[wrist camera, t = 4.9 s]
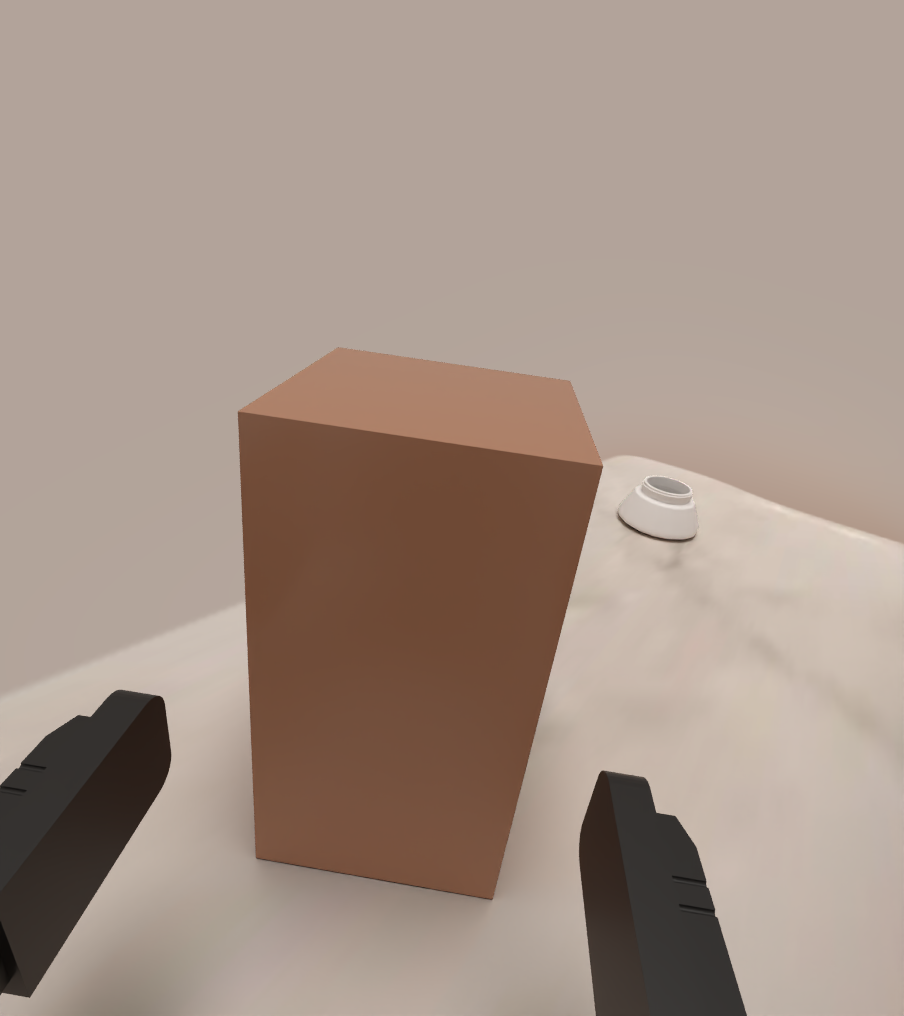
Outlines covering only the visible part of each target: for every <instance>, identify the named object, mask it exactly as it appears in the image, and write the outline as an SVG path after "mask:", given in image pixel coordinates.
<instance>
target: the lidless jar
mask: <svg viewBox="0 0 904 1016" xmlns="http://www.w3.org/2000/svg"><path fill="white" fill-rule="evenodd" d="M692 493H693V490H692V488H691V487H690V486H688V485H687V484H685V483H683V482H681V481H679V480H676V479H673V478H669V477H665V476H656V475H654V476H647V477H645V478H644V480H643V481H642V485H638V486H637V487H636V488H635V489H634V490H633V491H632V492H631V493H630V494H629V495H628V496H627V497H626V498H625V499H624V500H623V501H622V502H621V503H620V504H619V508H618V512H619V516H620V517H621V518H622V519H623V520H624V521H625V522H626V523H627V524H629V525H630V526H632V527H633V528H635V529H637V530H638V531H640V532H642V533H645V534H648V535H650V536H653V537H658V538H663V539H687V538H691V537H694V535H695V534H696V533H697V531H698V528H699V523H698V517H697V511H696V506H695V503H694V500H693V499H692V495H693V494H692Z"/></svg>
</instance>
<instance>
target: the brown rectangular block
mask: <svg viewBox="0 0 904 1016" xmlns="http://www.w3.org/2000/svg"><path fill="white" fill-rule="evenodd" d="M238 424H239V449H240V474H241V497H242V498H241V499H242V522H243V523H242V524H243V547H244V573H245V598H246V622H247V647H248V672H249V696H250V721H251V746H252V770H253V795H254V820H255V845H256V858H260V859H266V860H272V861H277V862H283V863H289V864H295V865H300V866H306V867H312V868H317V869H323V870H329V871H334V872H340V873H346V874H351V875H357V876H363V877H368V878H374V879H380V880H385V881H391V882H397V883H402V884H408V885H414V886H420V887H425V888H431V889H437V890H442V891H448V892H454V893H459V894H465V895H471V896H476V897H482V898H488V899H493V895H494V891H495V887H496V883H497V879H498V876H499V872H500V868H501V864H502V860H503V856H504V852H505V848H506V844H507V840H508V836H509V833H510V829H511V825H512V821H513V817H514V813H515V809H516V805H517V801H518V797H519V793H520V789H521V786H522V782H523V778H524V774H525V770H526V766H527V762H528V758H529V754H530V750H531V746H532V743H533V739H534V735H535V731H536V727H537V723H538V719H539V715H540V711H541V707H542V703H543V699H544V696H545V692H546V688H547V684H548V680H549V676H550V672H551V668H552V664H553V660H554V656H555V653H556V649H557V645H558V641H559V637H560V633H561V629H562V625H563V621H564V617H565V613H566V609H567V606H568V602H569V598H570V594H571V590H572V586H573V582H574V578H575V574H576V570H577V566H578V563H579V559H580V555H581V551H582V547H583V543H584V539H585V535H586V531H587V527H588V523H589V519H590V516H591V512H592V508H593V504H594V500H595V496H596V492H597V488H598V484H599V480H600V476H601V473H602V469H603V464H602V462H601V459H600V457H599V454H598V451H597V449H596V446H595V444H594V441H593V439H592V436H591V434H590V431H589V428H588V426H587V423H586V421H585V418H584V416H583V413H582V411H581V408H580V405H579V403H578V400H577V398H576V395H575V392H574V390H573V387H572V385H571V382H570V381H567V380H560V379H553V378H546V377H539V376H532V375H525V374H519V373H511V372H504V371H498V370H490V369H484V368H477V367H470V366H463V365H456V364H449V363H443V362H436V361H429V360H422V359H415V358H408V357H401V356H394V355H388V354H381V353H373V352H367V351H360V350H353V349H346V348H339V347H338V348H336V349H335V350H333V351H332V352H330V353H328V354H327V355H325V356H324V357H322V358H321V359H319V360H318V361H316V362H314V363H313V364H311V365H310V366H308V367H307V368H305V369H304V370H302V371H300V372H299V373H297V374H296V375H294V376H293V377H291V378H290V379H288V380H286V381H285V382H283V383H282V384H280V385H278V386H277V387H275V388H274V389H272V390H271V391H269V392H267V393H266V394H264V395H263V396H261V397H260V398H258V399H257V400H255V401H253V402H252V403H250V404H249V405H247V406H246V407H244V408H243V409H241V410H240V411H238Z"/></svg>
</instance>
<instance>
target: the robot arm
mask: <svg viewBox="0 0 904 1016" xmlns="http://www.w3.org/2000/svg"><path fill="white" fill-rule="evenodd" d="M170 763H171V748H170V740H169V732H168V725H167V717H166V709H165V703H164V700H163V698H162V697H160V696H156V695H150V694H144V693H138V692H131V691H125V690H117V691H115V692H113V693H112V694H111V695H110V696H109V697H108V698H107V699H106V700H105V701H104V702H103V703H102V705H101V706H100V707H99V708H98V709H97V710H96V711H95V713H94V714H93V715H92V716H91V717H87V716H81V715H78V716H76V717H75V718H73V719H72V720H70V721H69V722H67V723H65V724H64V725H62V726H61V727H59V728H58V729H56V730H55V731H53V732H52V733H50V734H48V735H47V736H46V737H45V738H44V739H43V740H42V741H41V742H40V743H39V744H38V745H37V746H36V747H35V748H34V750H33V751H32V752H31V753H30V754H29V755H28V756H27V757H26V758H25V759H24V760H23V761H22V762H21V766H20V768H19V769H17V768H16V769H15V770H14V771H13V772H12V773H11V774H10V775H9V776H8V778H7V779H6V780H5V781H4V782H3V783H2V784H1V785H0V995H1V993H7V994H13V995H18V996H24V997H29V998H30V997H31V995H32V993H33V992H34V990H35V989H36V987H37V985H38V984H39V982H40V981H41V979H42V978H43V976H44V974H45V973H46V971H47V970H48V968H49V966H50V965H51V963H52V962H53V960H54V958H55V957H56V955H57V954H58V952H59V951H60V949H61V947H62V946H63V944H64V943H65V941H66V939H67V938H68V936H69V935H70V933H71V932H72V930H73V928H74V927H75V925H76V924H77V922H78V920H79V919H80V917H81V916H82V914H83V913H84V911H85V909H86V908H87V906H88V905H89V903H90V901H91V900H92V898H93V897H94V895H95V893H96V892H97V890H98V889H99V887H100V886H101V884H102V882H103V881H104V879H105V878H106V876H107V874H108V873H109V871H110V870H111V868H112V867H113V865H114V863H115V862H116V860H117V859H118V857H119V855H120V854H121V852H122V851H123V849H124V848H125V846H126V844H127V843H128V841H129V840H130V838H131V836H132V835H133V833H134V832H135V830H136V828H137V827H138V825H139V824H140V822H141V821H142V819H143V817H144V816H145V814H146V813H147V811H148V809H149V808H150V806H151V805H152V803H153V802H154V800H155V798H156V797H157V795H158V794H159V792H160V790H161V789H162V787H163V785H164V782H165V780H166V777H167V775H168V771H169V768H170ZM579 861H580V871H581V881H582V890H583V899H584V909H585V918H586V927H587V936H588V946H589V955H590V964H591V974H592V983H593V992H594V1001H595V1011H596V1016H747V1014H746V1011H745V1008H744V1004H743V1001H742V998H741V994H740V991H739V988H738V984H737V981H736V978H735V974H734V971H733V968H732V964H731V961H730V958H729V954H728V951H727V948H726V945H725V941H724V938H723V935H722V931H721V928H720V925H719V921H718V918H717V917H715V908H714V905H713V901H712V898H711V895H710V891H709V888H707V887H706V878H705V875H704V871H703V868H702V865H701V861H700V858H699V855H698V851H697V848H696V846H695V845H694V843H693V842H692V840H691V839H690V837H689V836H688V834H687V833H686V831H685V830H684V828H683V827H682V825H681V824H680V822H679V821H678V819H677V818H676V816H672V815H666V814H660V813H656V810H655V806H654V802H653V798H652V794H651V790H650V786H649V784H648V781H647V780H646V779H645V778H644V777H639V776H633V775H627V774H621V773H615V772H608V771H601V772H600V774H599V776H598V779H597V782H596V785H595V788H594V791H593V794H592V797H591V800H590V803H589V806H588V809H587V812H586V815H585V818H584V821H583V824H582V828H581V833H580V843H579Z"/></svg>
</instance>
